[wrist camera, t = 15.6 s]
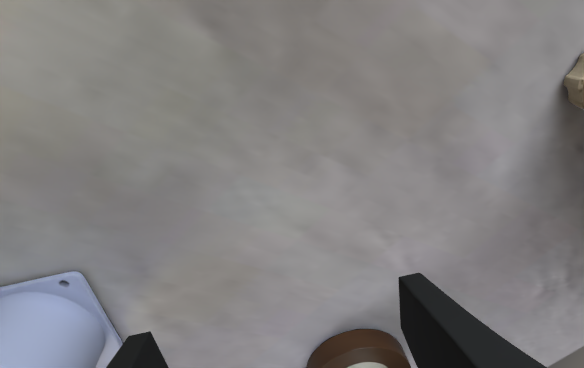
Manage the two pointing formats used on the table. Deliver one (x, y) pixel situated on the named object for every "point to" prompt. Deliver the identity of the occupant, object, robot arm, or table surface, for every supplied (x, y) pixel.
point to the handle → (576, 83)
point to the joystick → (359, 351)
